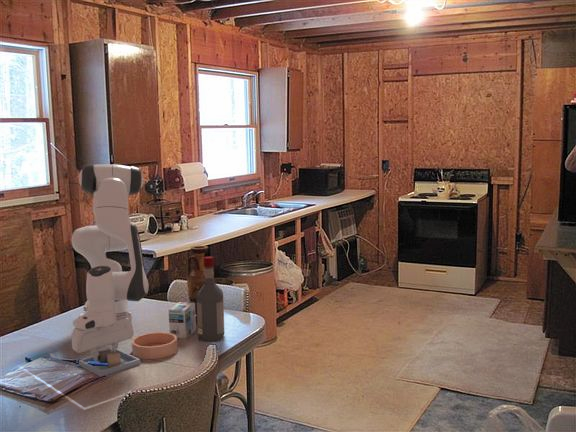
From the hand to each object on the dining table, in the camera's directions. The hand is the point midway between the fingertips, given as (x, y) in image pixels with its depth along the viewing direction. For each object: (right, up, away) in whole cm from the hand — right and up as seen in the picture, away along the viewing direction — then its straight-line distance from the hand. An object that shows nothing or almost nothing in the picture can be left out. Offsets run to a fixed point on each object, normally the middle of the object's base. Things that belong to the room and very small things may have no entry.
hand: (104, 358), depth 196 cm
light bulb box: (+20, +2, +29) cm, 36 cm away
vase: (+25, +4, +44) cm, 51 cm away
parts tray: (+2, -2, -2) cm, 4 cm away
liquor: (+32, +2, +23) cm, 40 cm away
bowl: (+14, 0, +10) cm, 17 cm away
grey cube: (0, -1, 0) cm, 1 cm away
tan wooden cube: (+4, -2, -4) cm, 6 cm away
